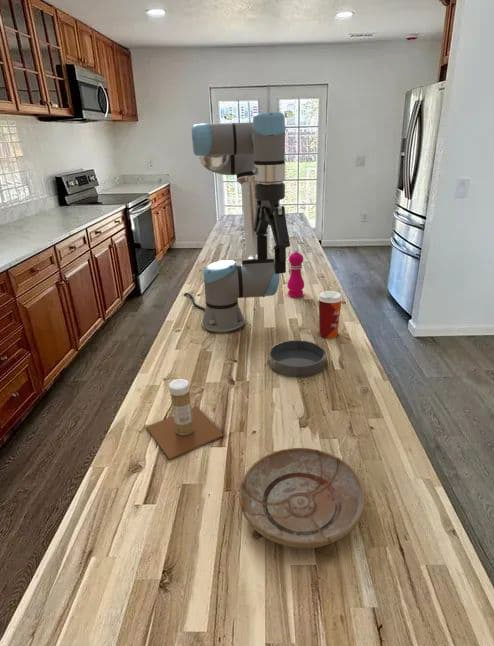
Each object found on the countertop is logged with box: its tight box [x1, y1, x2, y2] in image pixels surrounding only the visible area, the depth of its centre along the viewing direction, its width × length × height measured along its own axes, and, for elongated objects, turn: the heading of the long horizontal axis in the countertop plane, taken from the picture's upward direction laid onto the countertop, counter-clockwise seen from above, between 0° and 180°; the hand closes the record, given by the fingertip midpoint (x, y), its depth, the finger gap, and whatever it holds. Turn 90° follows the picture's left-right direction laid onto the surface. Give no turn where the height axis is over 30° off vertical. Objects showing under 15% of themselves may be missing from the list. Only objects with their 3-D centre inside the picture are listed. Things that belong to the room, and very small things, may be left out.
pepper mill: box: [286, 249, 305, 298], centre depth 183 cm, size 7×7×20 cm
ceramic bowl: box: [238, 447, 366, 549], centre depth 83 cm, size 23×24×5 cm
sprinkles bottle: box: [168, 378, 194, 436], centre depth 103 cm, size 5×5×13 cm
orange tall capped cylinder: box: [317, 290, 343, 339], centre depth 149 cm, size 8×8×15 cm
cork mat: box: [146, 406, 225, 461], centre depth 106 cm, size 14×14×1 cm
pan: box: [268, 339, 326, 378], centre depth 134 cm, size 17×17×4 cm
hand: (270, 265), depth 116 cm, fingers open, 13 cm apart
